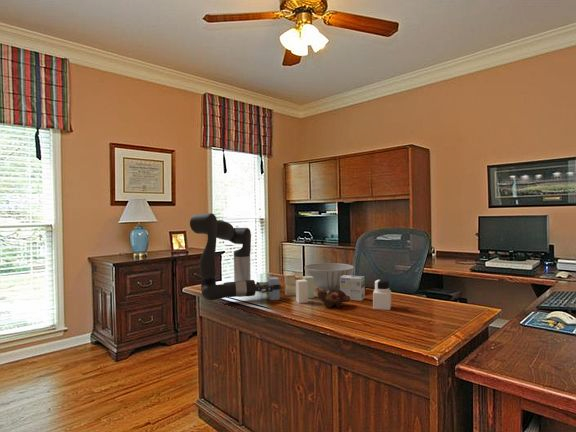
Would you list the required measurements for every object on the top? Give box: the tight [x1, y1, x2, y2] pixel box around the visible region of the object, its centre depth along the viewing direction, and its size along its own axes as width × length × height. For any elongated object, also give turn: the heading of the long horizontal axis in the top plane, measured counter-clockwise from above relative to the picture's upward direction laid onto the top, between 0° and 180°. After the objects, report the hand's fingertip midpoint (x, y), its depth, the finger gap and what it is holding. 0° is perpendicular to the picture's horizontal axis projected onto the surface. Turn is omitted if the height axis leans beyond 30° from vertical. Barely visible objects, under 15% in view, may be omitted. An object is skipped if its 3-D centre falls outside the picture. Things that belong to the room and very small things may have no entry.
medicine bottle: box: [372, 279, 392, 311], centre depth 162 cm, size 7×7×12 cm
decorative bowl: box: [304, 262, 355, 291], centre depth 201 cm, size 27×27×12 cm
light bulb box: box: [340, 275, 366, 302], centre depth 179 cm, size 11×7×11 cm, turn 65°
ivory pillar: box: [295, 279, 309, 304], centre depth 174 cm, size 4×4×10 cm
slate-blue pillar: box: [267, 276, 280, 301], centre depth 180 cm, size 4×4×10 cm
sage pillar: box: [302, 275, 315, 299], centre depth 183 cm, size 4×4×10 cm
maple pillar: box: [284, 273, 296, 297], centre depth 189 cm, size 4×4×10 cm
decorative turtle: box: [316, 289, 351, 309], centre depth 165 cm, size 10×15×8 cm, turn 108°
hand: (279, 285), depth 181 cm, fingers closed on slate-blue pillar, 4 cm apart
